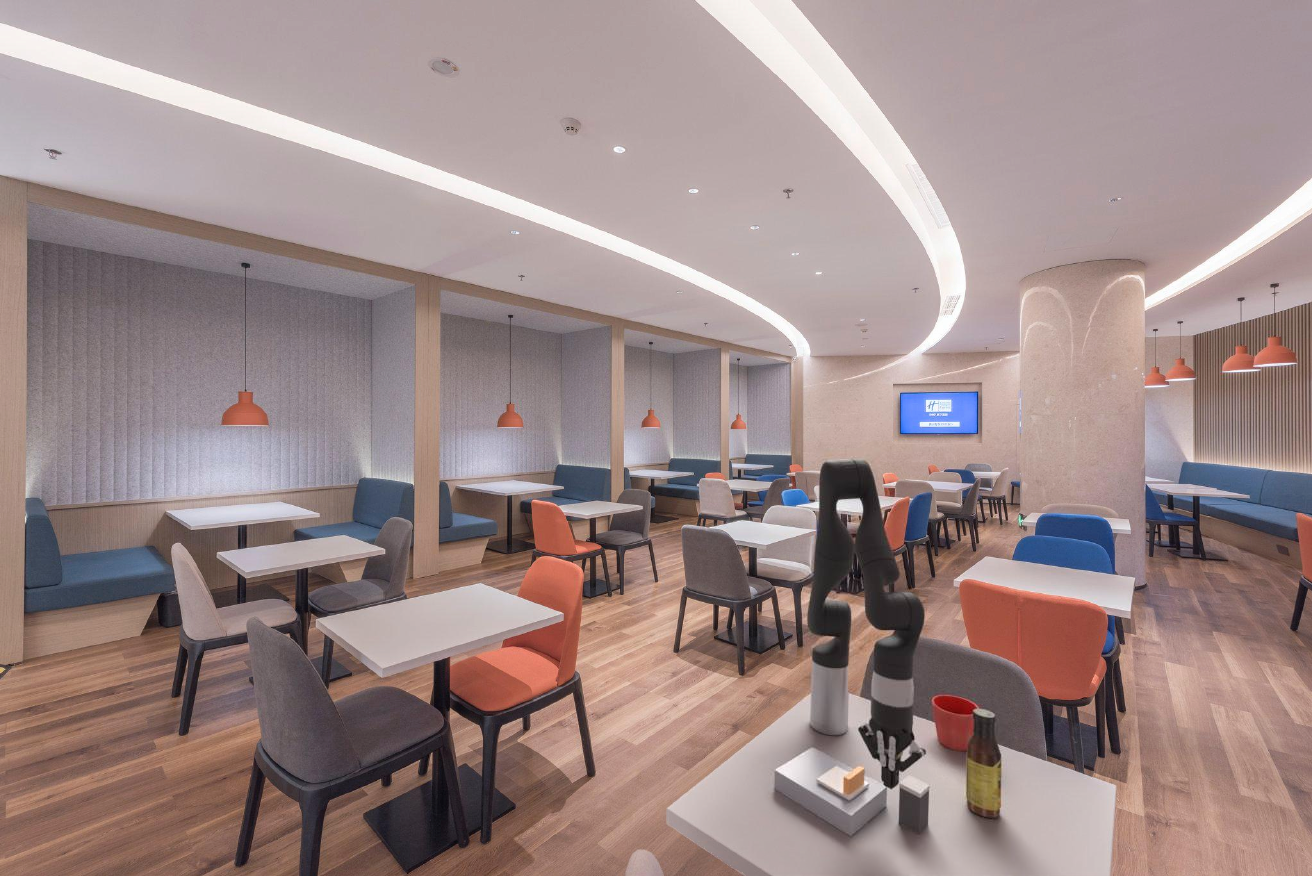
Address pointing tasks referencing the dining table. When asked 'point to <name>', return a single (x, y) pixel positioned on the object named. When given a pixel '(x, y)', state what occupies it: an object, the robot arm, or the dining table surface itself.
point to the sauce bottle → (983, 766)
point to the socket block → (828, 791)
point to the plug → (913, 804)
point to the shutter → (844, 781)
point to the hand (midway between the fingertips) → (889, 785)
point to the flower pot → (953, 720)
